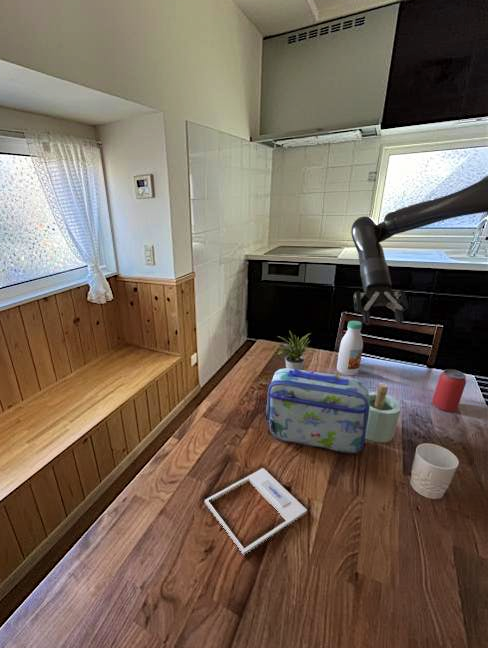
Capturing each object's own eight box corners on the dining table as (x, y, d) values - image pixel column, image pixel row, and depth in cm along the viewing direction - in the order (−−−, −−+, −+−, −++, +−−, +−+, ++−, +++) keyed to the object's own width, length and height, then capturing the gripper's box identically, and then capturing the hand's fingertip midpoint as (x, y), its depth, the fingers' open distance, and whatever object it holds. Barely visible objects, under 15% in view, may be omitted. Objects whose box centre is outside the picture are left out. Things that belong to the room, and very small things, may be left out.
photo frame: (307, 509, 75) (243, 552, 67) (306, 513, 75) (243, 555, 68) (263, 467, 87) (204, 499, 79) (263, 470, 87) (204, 502, 79)
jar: (397, 428, 99) (404, 400, 95) (388, 447, 92) (396, 418, 88) (360, 415, 105) (366, 388, 101) (350, 432, 98) (355, 404, 94)
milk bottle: (338, 375, 127) (345, 326, 118) (335, 365, 133) (341, 318, 125) (360, 376, 125) (369, 327, 116) (356, 366, 132) (364, 319, 123)
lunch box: (262, 439, 98) (264, 377, 89) (270, 417, 107) (273, 359, 98) (361, 464, 87) (375, 397, 79) (361, 437, 96) (373, 374, 87)
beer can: (460, 414, 103) (471, 380, 98) (435, 410, 105) (445, 377, 100) (452, 401, 108) (463, 369, 103) (428, 398, 110) (438, 367, 106)
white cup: (402, 488, 80) (411, 456, 76) (412, 469, 85) (421, 438, 81) (442, 508, 75) (454, 475, 71) (450, 486, 80) (462, 454, 75)
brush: (384, 427, 98) (394, 384, 92) (380, 435, 95) (390, 391, 89) (367, 421, 101) (376, 379, 95) (363, 429, 98) (372, 386, 92)
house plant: (289, 359, 140) (292, 323, 133) (320, 371, 130) (325, 332, 123) (268, 371, 132) (270, 333, 125) (299, 385, 122) (302, 345, 115)
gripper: (354, 269, 101) (363, 319, 95) (405, 268, 99) (417, 318, 93) (346, 282, 108) (354, 329, 102) (393, 280, 106) (404, 328, 100)
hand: (384, 323), depth 98 cm, fingers open, 8 cm apart
